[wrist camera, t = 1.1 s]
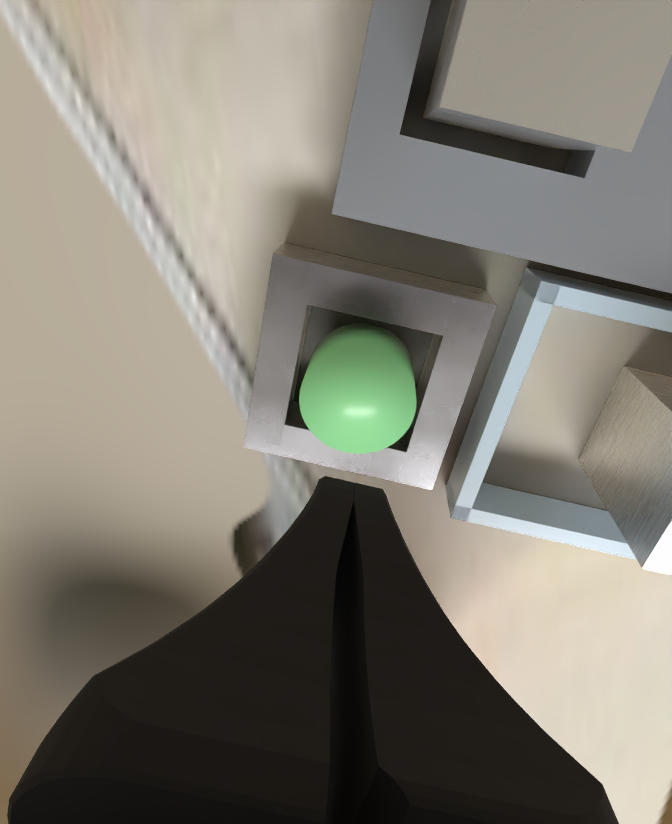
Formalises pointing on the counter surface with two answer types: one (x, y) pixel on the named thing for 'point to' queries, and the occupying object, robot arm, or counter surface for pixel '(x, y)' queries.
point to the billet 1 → (552, 69)
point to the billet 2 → (636, 464)
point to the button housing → (378, 300)
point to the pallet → (503, 177)
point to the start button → (359, 389)
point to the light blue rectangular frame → (498, 398)
